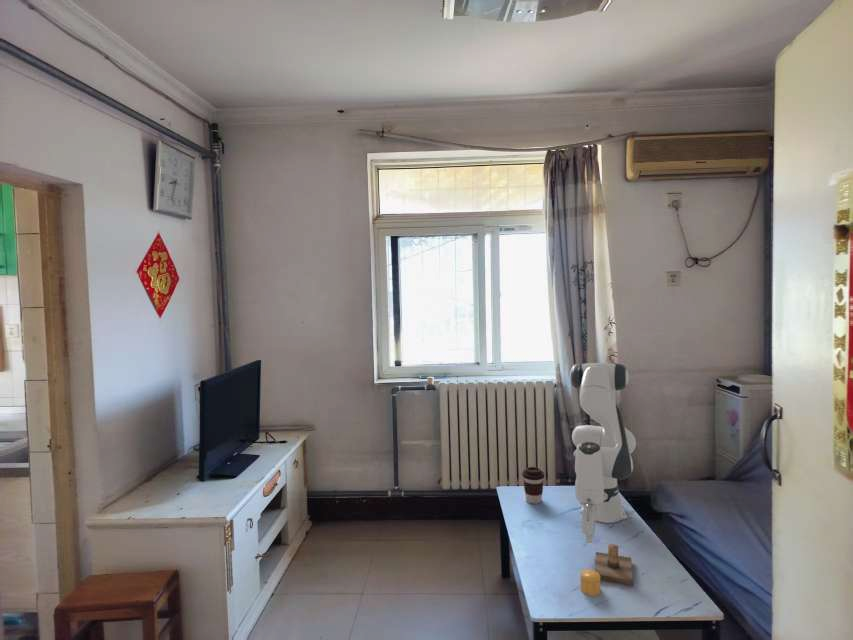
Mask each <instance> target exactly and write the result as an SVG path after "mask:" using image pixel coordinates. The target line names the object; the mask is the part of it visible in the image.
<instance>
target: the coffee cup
mask: <svg viewBox="0 0 853 640" xmlns="http://www.w3.org/2000/svg"><path fill="white" fill-rule="evenodd" d="M522 477H523V489H524V494H525V495H524V496H525V501H526V502H527V503H529V504H533V505H534V504H535V505H536V504H541V503H542V502H543V501H542V500H543V493H544V492H543V491H544V478H545V472H544V471H543V470H542V469H541V468H539V467H535V466H529V467H526V468H525V469H524V470H522Z"/></svg>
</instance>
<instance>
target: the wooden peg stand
mask: <svg viewBox="0 0 853 640" xmlns="http://www.w3.org/2000/svg"><path fill="white" fill-rule="evenodd" d="M607 547H608V548H607V550H608V552H607V553H605V552H599V551H595V559H594V560H595V561H594V571H596V572H598V573H599V574H600V582H601V581H602V582H607V583H612V584H618V585H624V586H628V587H633V586H634V585H633V580H634V579H633V565H632V563H633V562H632V557H630V556H623V555H619V546H618V545H617V544H615V543H609V544H608V545H607Z"/></svg>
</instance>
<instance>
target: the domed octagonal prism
mask: <svg viewBox="0 0 853 640" xmlns="http://www.w3.org/2000/svg"><path fill="white" fill-rule="evenodd" d="M580 591H581V592H583V593H584V594H585V595H588V596H592V597H593V596H598V595H600V594H601V580H600V574H599V573H598V572H596V571H595V569H589V568H587V569H586V568H585V569H583V570H581V571H580Z"/></svg>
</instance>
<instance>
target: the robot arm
mask: <svg viewBox="0 0 853 640" xmlns="http://www.w3.org/2000/svg"><path fill="white" fill-rule="evenodd" d="M629 379H630V378H629V372H628V370H627V367H626V366H625V365H624V364H620V363H609V362H589V363H588V362H587V363H575V364H574V365H573V366H572V367H571V370H570V372H569V381H570V382H571V386H572V387H574V388H575V389H579V405H580V407H581V409H582V410H583V411H584V412H585V413H586V414H587V415H588V416H589V417H590V418H591V420H593V421H595V422H596V423H598V424H599V425H600V426H599V425H591V424H590V425H589V424H585V425H577V426H575V427H574V429H573V431H572V434H571V439H572V442H573V445H574V446H575V447H576V449H575V450H574V451H573V454H572V462H573V463H572V468H573V470H574V472H575V476H576V477H575V481H574V482H575V485H574V486H575V487H574V489H575V490H574V491H575V496H574V497H575V499H576V500H577V501H578V502H579V504H580V505H581V506H582V507H581V509H580V513H581V531H582V532H581V533H582V534H583V535H584V536H585V542H586V543H588V544H592V542H593V536H594V535H595V533H596V532H595V531H596V530H595V529H596V522H600V523H604V524H605V523H607V524H609V523H610V524H611V523H616V522H619V521H621V520H627V519H628V515H627V513H626V511H625V509H624V507H623V499H622V498H621V495H619V490H620V489H619V484H618V480H621V481H623V480H626V479H627V478H628V477H630V476H631V475H632V474H633V473H632V472H633V470H634V462H633V458H632V455H631V454H633V452H634V451H635V449H636V445H637V442H636V441H637V440H636V437H635V435H634V434H633V432H632V431H630V430H628V428H626V427H625V423H624V419H623V418H624V417H623V414H622V411H621V408H620V407H619V406H618V405H617V403H616V391H621V390H624V389H626V387H627V385H628V383H629Z"/></svg>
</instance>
